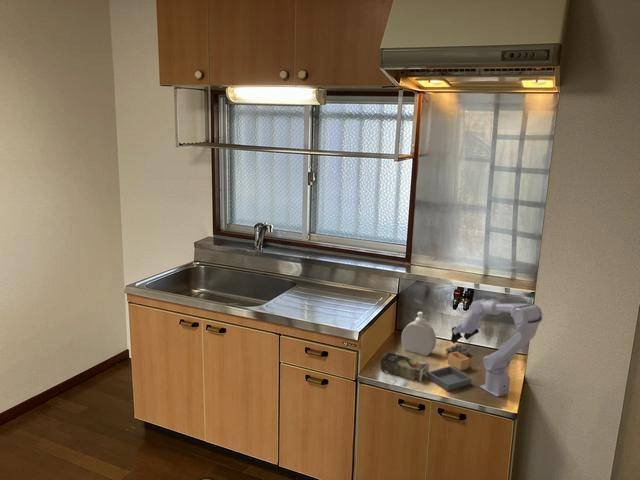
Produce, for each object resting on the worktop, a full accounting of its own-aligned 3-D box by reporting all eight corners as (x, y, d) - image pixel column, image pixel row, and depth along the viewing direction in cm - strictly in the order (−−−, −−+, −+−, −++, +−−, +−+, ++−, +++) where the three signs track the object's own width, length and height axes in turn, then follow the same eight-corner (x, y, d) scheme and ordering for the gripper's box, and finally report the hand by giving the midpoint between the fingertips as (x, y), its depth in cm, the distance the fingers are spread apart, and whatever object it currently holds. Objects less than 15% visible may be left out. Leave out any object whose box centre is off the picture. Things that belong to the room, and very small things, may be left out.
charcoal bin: (470, 384, 236) (471, 378, 235) (447, 391, 230) (448, 385, 229) (449, 372, 247) (450, 365, 246) (427, 378, 240) (427, 372, 240)
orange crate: (468, 368, 251) (469, 358, 249) (460, 371, 248) (461, 360, 247) (455, 361, 257) (456, 351, 256) (447, 363, 255) (448, 353, 254)
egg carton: (455, 361, 258) (456, 353, 257) (443, 355, 264) (443, 347, 263) (470, 355, 265) (471, 347, 264) (457, 350, 270) (458, 342, 269)
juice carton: (430, 374, 245) (431, 361, 243) (422, 383, 237) (423, 370, 235) (389, 363, 255) (389, 351, 253) (379, 372, 247) (380, 359, 245)
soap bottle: (400, 349, 269) (402, 310, 265) (404, 345, 274) (406, 307, 269) (431, 357, 261) (434, 317, 256) (435, 353, 265) (438, 314, 261)
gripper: (478, 310, 247) (465, 329, 255) (454, 316, 240) (441, 336, 248) (488, 322, 242) (475, 341, 251) (463, 329, 235) (450, 348, 244)
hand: (459, 339), depth 249 cm, fingers open, 7 cm apart
